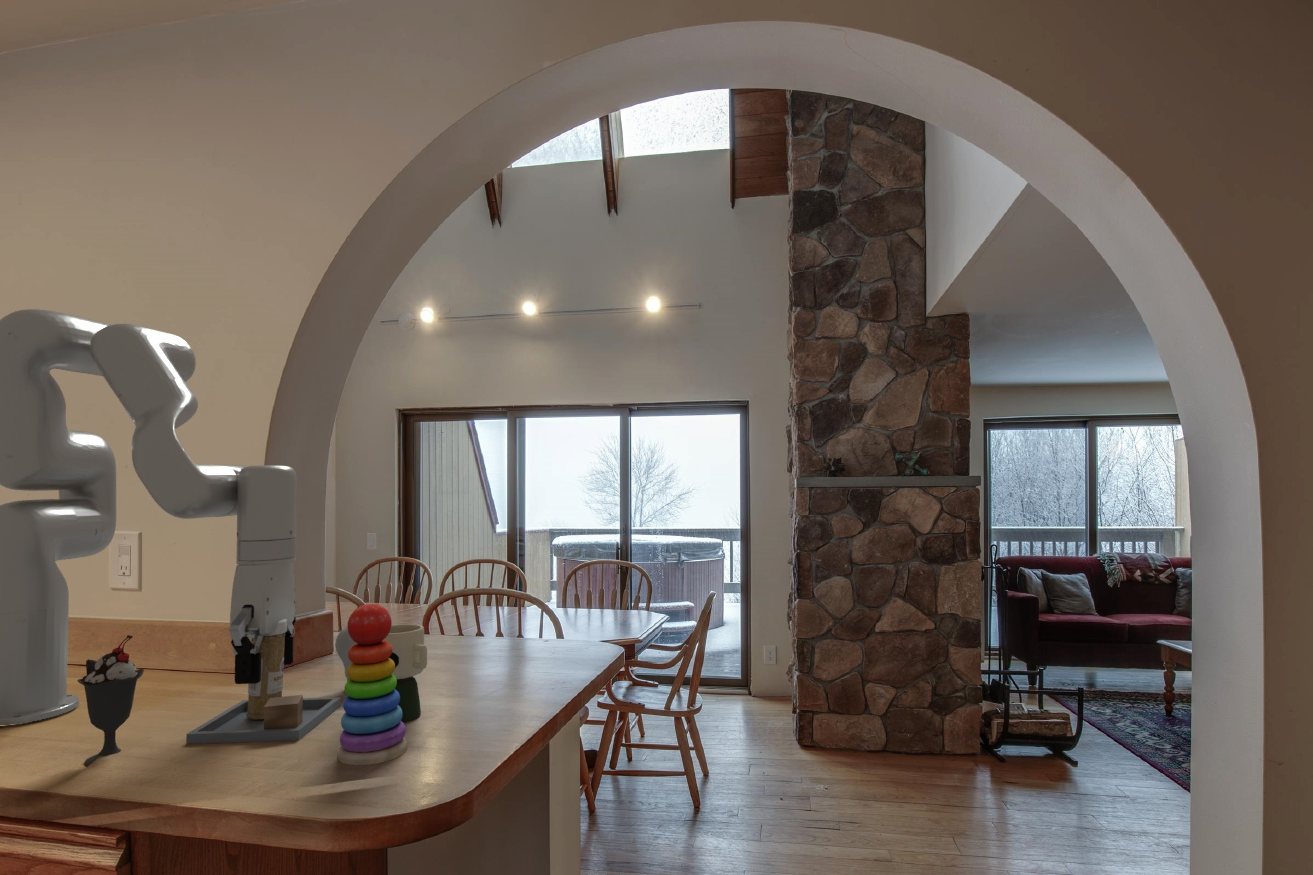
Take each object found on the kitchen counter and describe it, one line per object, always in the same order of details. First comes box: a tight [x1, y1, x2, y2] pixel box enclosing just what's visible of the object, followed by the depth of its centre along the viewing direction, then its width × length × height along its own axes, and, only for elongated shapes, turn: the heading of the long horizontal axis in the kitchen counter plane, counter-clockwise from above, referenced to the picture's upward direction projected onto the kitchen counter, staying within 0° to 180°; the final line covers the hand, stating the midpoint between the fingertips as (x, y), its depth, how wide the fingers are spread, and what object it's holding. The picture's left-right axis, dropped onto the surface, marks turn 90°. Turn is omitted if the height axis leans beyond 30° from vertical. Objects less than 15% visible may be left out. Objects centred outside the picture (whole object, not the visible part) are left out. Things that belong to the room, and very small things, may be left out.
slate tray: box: [185, 696, 342, 745], centre depth 100 cm, size 14×14×2 cm
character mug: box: [383, 623, 428, 724], centre depth 102 cm, size 11×7×13 cm, turn 62°
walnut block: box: [264, 694, 304, 729], centre depth 97 cm, size 4×4×4 cm
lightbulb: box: [334, 626, 357, 682], centre depth 116 cm, size 6×6×11 cm
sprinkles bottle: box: [246, 619, 287, 720], centre depth 103 cm, size 5×5×13 cm
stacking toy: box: [337, 603, 408, 766], centre depth 89 cm, size 8×8×19 cm
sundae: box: [77, 634, 145, 767], centre depth 91 cm, size 7×7×15 cm
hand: (265, 673), depth 103 cm, fingers open, 9 cm apart
